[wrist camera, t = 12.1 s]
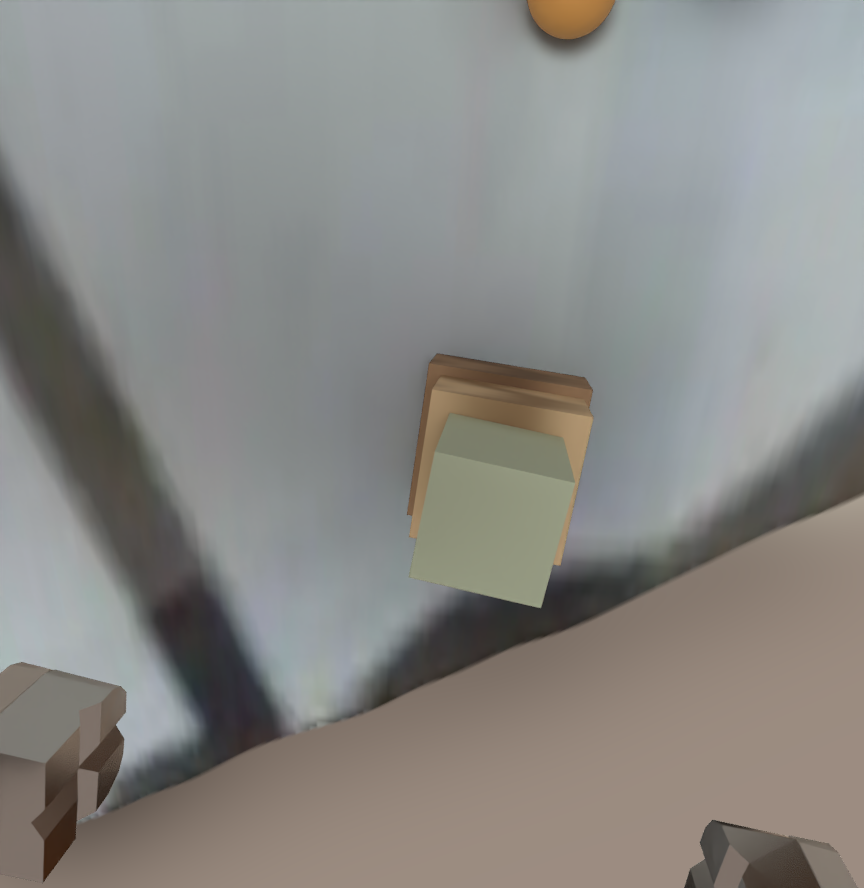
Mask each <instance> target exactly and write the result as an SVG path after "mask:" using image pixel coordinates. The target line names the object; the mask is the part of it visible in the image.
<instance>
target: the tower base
mask: <svg viewBox="0 0 864 888" xmlns="http://www.w3.org/2000/svg"><path fill="white" fill-rule="evenodd" d="M441 375H446V376H452V377H458V378H463V379H469V380H475V381H481V382H487V383H492V384H498V385H504V386H510V387H516V388H521V389H527V390H533V391H539V392H545V393H551V394H556V395H562V396H568V397H574V398H580V399H584V400H585V402H586V404H587V406H588V408H589V406H590V402H591V397H592V392H593V390H592V388H591V386H590V385H589V383H588V381H587V380H586V378H585V377H578V376H572V375H566V374H560V373H554V372H548V371H542V370H536V369H529V368H523V367H517V366H511V365H505V364H499V363H493V362H486V361H480V360H474V359H468V358H462V357H456V356H450V355H444V354H436V356H435V357H434V358H433V359H432V360H431V362H430V363H429V367H428V374H427V381H426V388H425V395H424V401H423V408H422V415H421V422H420V429H419V436H418V443H417V449H416V456H415V463H414V470H413V477H412V484H411V491H410V498H409V504H408V511H407V515H411V516H413V509H414V503H415V496H416V490H417V483H418V477H419V471H420V464H421V458H422V451H423V445H424V439H425V432H426V426H427V419H428V413H429V406H430V400H431V394H432V389H433V387H434V386H435V384H436V383H437V381H438V379H439V378H440V376H441Z"/></svg>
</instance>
